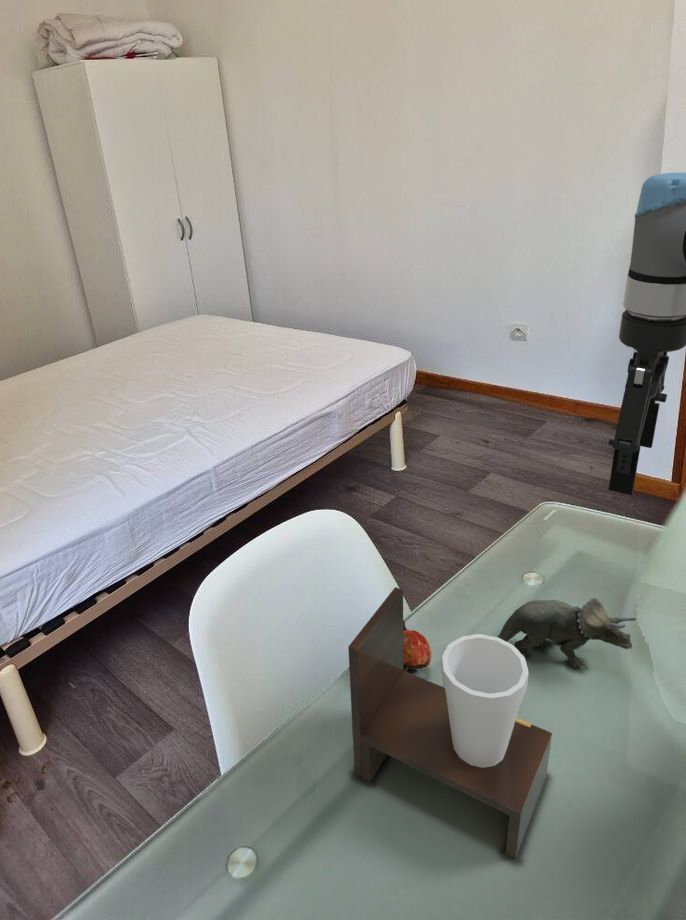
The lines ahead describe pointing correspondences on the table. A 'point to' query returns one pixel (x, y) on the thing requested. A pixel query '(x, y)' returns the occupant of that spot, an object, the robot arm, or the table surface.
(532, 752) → the shelf
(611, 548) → the table surface
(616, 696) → the table surface
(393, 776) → the table surface
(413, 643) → the pomegranate
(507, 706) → the foam cup
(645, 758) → the table surface
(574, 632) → the toy dinosaur
